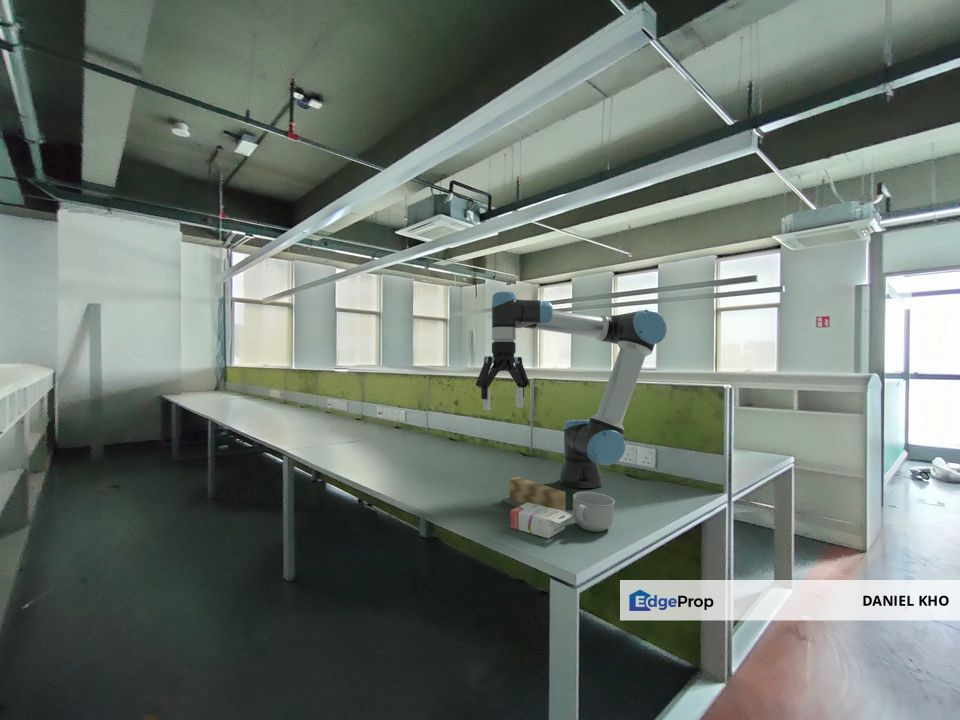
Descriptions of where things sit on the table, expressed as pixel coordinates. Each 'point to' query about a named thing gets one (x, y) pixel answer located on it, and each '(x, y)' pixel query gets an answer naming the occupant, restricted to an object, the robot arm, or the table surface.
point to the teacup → (593, 510)
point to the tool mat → (517, 503)
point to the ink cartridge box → (538, 519)
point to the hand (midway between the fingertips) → (503, 408)
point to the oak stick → (537, 494)
